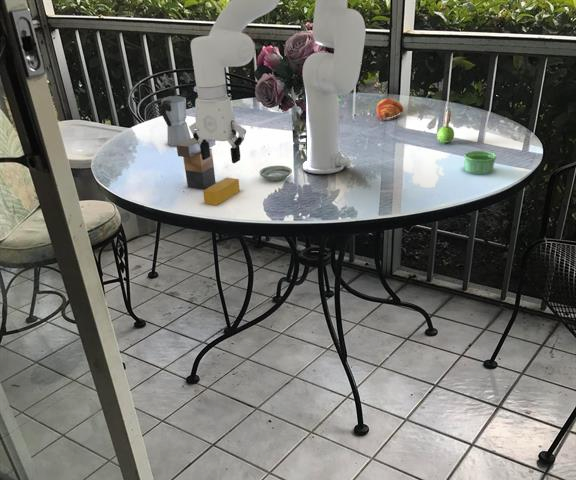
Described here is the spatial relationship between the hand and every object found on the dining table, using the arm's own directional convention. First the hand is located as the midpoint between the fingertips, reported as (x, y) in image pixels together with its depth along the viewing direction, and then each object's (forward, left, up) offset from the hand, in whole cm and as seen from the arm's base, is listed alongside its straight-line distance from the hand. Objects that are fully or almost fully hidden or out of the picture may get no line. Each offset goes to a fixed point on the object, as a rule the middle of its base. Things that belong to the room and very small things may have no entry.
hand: (221, 160), depth 166 cm
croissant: (-12, -97, -10) cm, 99 cm away
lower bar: (+12, -5, 0) cm, 13 cm away
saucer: (-6, -18, -10) cm, 22 cm away
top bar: (0, +1, -10) cm, 10 cm away
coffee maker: (+45, -38, -10) cm, 60 cm away
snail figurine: (-42, -69, -10) cm, 82 cm away
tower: (+12, -5, -10) cm, 16 cm away
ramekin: (-59, -46, -10) cm, 76 cm away
